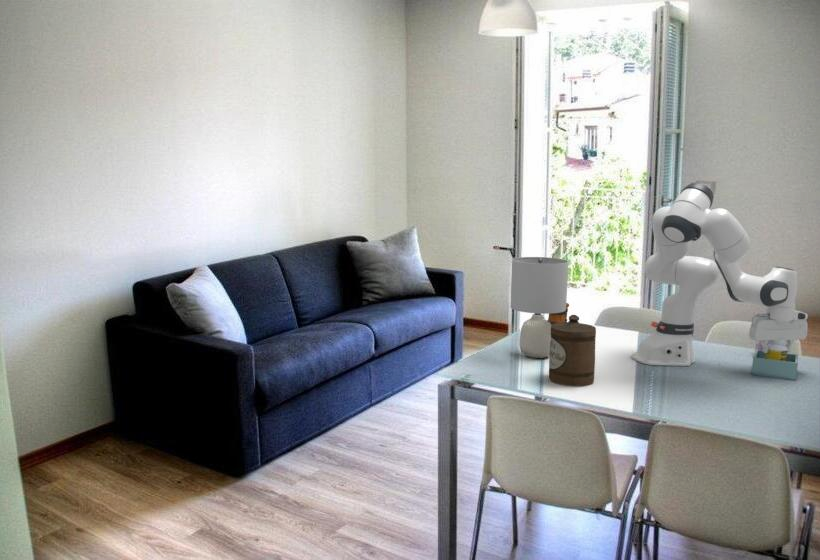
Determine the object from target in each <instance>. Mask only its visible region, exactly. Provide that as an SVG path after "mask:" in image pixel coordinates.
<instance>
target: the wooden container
mask: <svg viewBox="0 0 820 560" xmlns="http://www.w3.org/2000/svg"><path fill="white" fill-rule="evenodd" d="M568 320H569V321H567V322H564V323H555V324H552V325H551V340H550V355H549V356H548V359H549V360H548V380H549V381H551V382H552V383H555V384H557V385H558V384H559V385H562V386H570V387H584V386H588V385H592V384H593V383H594V381H595V370H596V369H595V368H596V338H597V337H596V336H597V328H596V327H595V326H594V325H591V324H586V323H582V322H581V323H580V322H579V320H580V318H579V316H578V315H577V314H570V315H569V316H568Z"/></svg>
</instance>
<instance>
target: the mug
mask: <svg viewBox="0 0 820 560" xmlns="http://www.w3.org/2000/svg"><path fill="white" fill-rule="evenodd" d="M569 306H570V304H569V303H568V302H566V311H564V312H561V313H552V314H548V317H547V321H548V322H550V323H551V325H552V324H555V323H564V322H568V318H567V317H568V311H569Z"/></svg>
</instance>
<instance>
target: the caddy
mask: <svg viewBox="0 0 820 560" xmlns="http://www.w3.org/2000/svg"><path fill="white" fill-rule="evenodd" d="M753 354H754V355H753V357H752V366H751V375H753V376H758V377H760V376H761V377H766V378H767V377H768V378H774V379H780V380H781V379H783V380H788V381H789V380H790V381H797V374H798V364H799V363H798V362H799V354H797V353H790V352H787V357H786V361H779V360H772V359H765V358H766V353H764V352H763V350H755V349H754V353H753Z"/></svg>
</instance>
